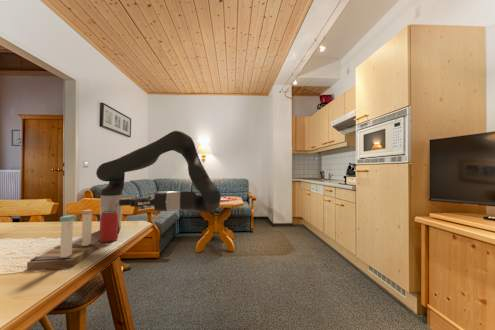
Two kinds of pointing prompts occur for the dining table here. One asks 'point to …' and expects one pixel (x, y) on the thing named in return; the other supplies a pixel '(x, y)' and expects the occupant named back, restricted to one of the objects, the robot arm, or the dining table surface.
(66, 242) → the teal slider
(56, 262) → the wooden slider base
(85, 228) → the white tall bar
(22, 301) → the dining table surface
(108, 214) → the beer can
